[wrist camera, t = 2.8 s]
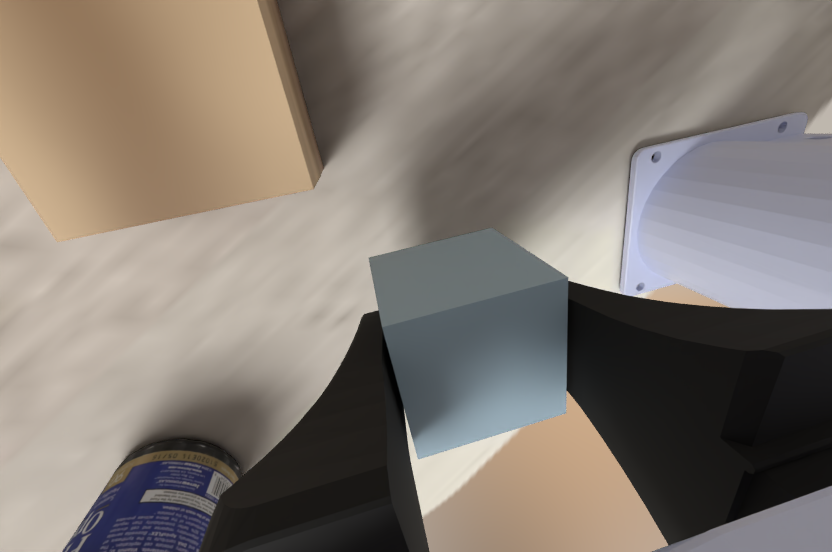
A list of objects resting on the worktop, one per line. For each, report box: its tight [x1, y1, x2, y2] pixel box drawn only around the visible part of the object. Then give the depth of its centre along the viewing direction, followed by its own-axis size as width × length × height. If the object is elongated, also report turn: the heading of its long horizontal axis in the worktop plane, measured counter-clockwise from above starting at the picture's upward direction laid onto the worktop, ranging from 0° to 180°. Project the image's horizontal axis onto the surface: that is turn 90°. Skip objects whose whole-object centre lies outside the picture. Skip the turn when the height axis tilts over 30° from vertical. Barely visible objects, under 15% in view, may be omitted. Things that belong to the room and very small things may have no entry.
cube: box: [369, 228, 568, 459], centre depth 11 cm, size 4×4×4 cm
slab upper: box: [0, 0, 321, 242], centre depth 8 cm, size 6×6×3 cm
